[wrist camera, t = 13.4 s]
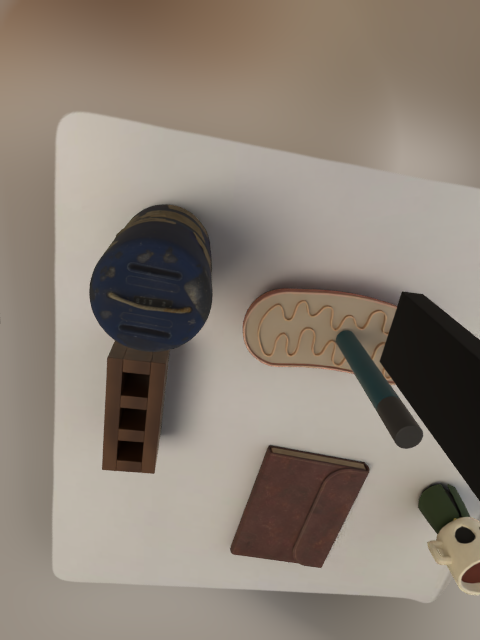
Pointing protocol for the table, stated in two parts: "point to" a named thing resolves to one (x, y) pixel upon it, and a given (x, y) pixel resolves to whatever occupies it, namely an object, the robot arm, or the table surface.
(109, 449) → the pen holder
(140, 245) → the canister
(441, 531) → the character mug
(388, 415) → the pen
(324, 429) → the table surface
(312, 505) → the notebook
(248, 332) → the anatomical model
